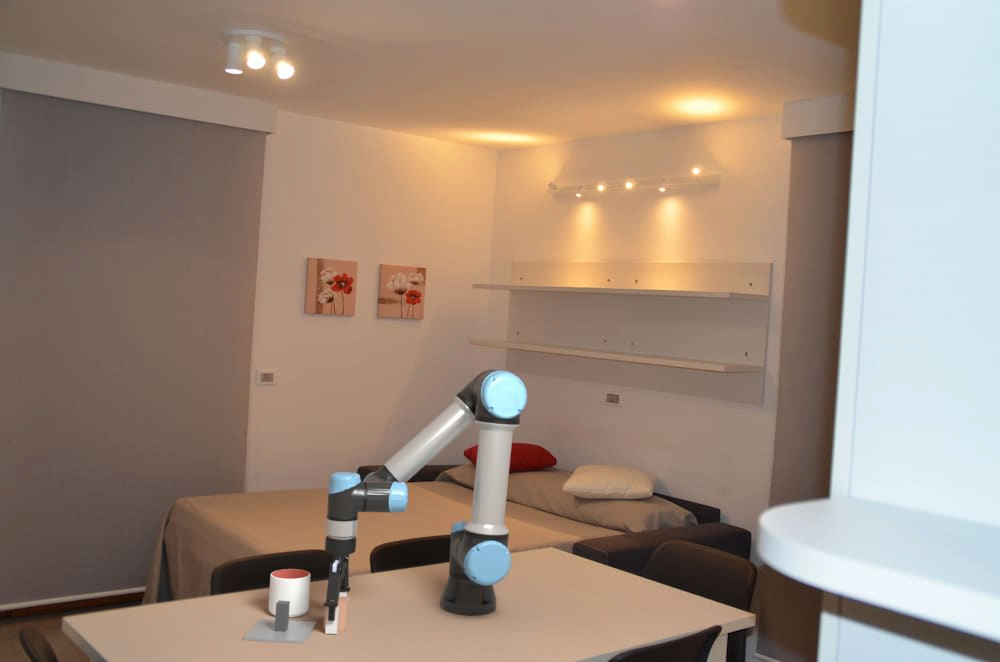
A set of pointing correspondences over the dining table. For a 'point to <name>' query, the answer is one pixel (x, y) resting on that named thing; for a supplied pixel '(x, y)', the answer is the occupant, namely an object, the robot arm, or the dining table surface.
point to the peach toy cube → (341, 613)
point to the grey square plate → (281, 627)
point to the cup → (290, 590)
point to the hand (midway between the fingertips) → (335, 625)
